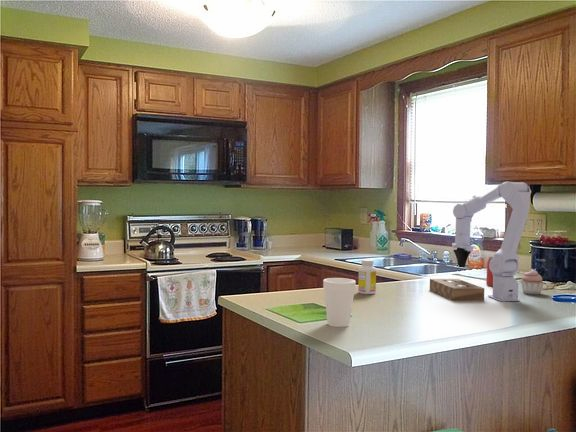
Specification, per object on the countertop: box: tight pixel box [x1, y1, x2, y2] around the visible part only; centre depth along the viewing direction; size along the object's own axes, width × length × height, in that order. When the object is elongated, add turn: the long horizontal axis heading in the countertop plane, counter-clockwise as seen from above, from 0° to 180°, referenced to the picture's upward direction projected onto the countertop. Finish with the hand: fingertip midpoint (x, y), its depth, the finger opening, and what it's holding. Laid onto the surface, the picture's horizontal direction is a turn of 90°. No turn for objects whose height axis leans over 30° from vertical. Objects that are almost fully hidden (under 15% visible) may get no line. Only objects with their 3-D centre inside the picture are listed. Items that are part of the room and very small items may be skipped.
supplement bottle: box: [357, 259, 377, 295], centre depth 216 cm, size 7×7×13 cm
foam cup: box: [322, 277, 357, 328], centre depth 164 cm, size 10×9×13 cm
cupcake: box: [519, 268, 545, 296], centre depth 223 cm, size 9×9×10 cm
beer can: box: [485, 256, 494, 288], centre depth 240 cm, size 7×7×12 cm
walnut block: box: [429, 278, 485, 302], centre depth 216 cm, size 22×12×4 cm, turn 8°
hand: (461, 267), depth 227 cm, fingers closed
